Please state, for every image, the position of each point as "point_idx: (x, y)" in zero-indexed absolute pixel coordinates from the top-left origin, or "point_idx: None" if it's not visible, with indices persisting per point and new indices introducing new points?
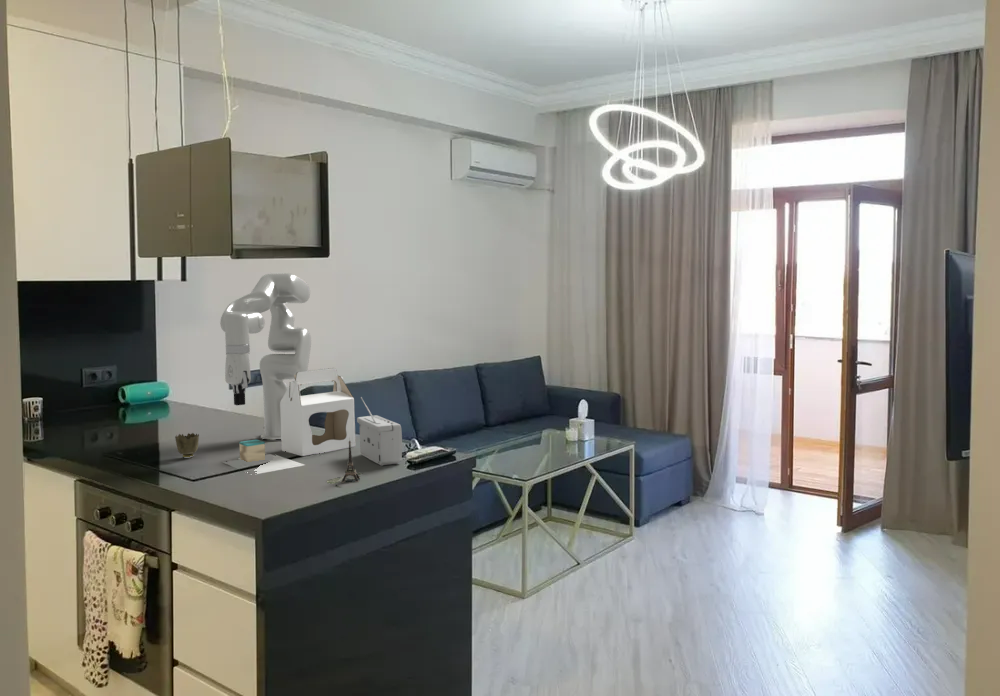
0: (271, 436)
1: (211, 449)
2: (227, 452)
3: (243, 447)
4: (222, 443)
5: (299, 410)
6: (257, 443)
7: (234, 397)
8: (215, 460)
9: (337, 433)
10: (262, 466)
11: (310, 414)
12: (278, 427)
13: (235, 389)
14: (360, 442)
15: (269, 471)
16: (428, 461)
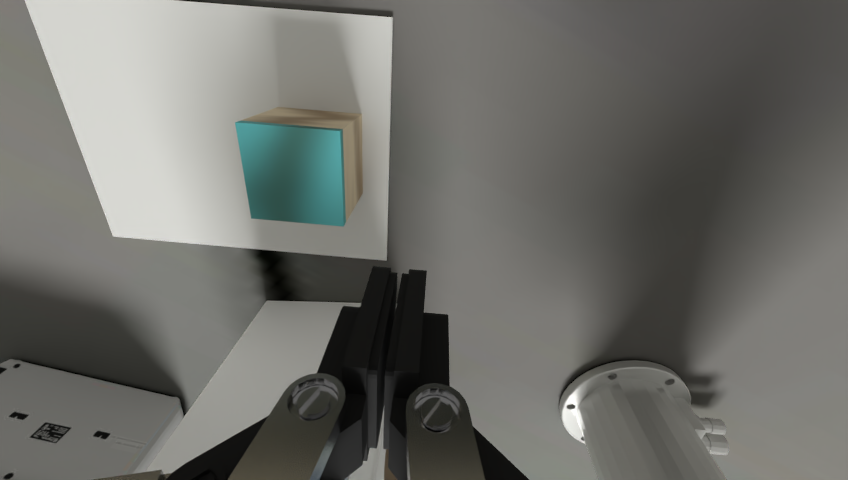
0: (612, 384)
1: (705, 147)
2: (573, 164)
3: (295, 122)
4: (759, 243)
5: (163, 468)
6: (245, 180)
7: (400, 323)
8: (464, 31)
9: (385, 473)
10: (172, 115)
11: None
12: (600, 427)
13: (405, 448)
14: (152, 431)
15: (60, 85)
16: None
